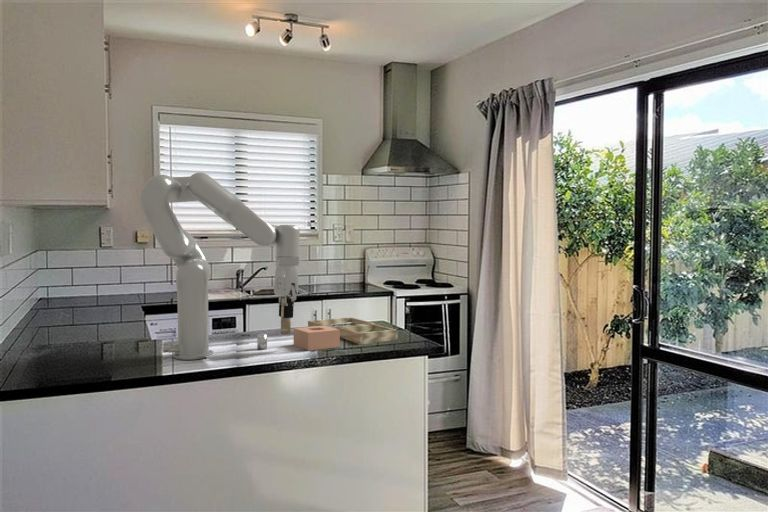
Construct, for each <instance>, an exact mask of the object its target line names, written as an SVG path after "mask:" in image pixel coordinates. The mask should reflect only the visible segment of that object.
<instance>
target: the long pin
mask: <svg viewBox="0 0 768 512" xmlns="http://www.w3.org/2000/svg"><path fill="white" fill-rule="evenodd" d="M288 299H289V298H288ZM280 305H281V317H280V335H284V336H285V335H287V336H288V335H291V326H292V325H291V324H292V323H291V319H292V318H284V306H285V297H284V298H282V302H281V304H280Z"/></svg>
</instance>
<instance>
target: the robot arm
mask: <svg viewBox="0 0 768 512" xmlns="http://www.w3.org/2000/svg"><path fill="white" fill-rule="evenodd" d="M139 196H140V197H139V198H140V199H139V200H140V201H139V203H140V209H141V211H142V214H143V216H144V218H145V220H146V222H147V224H148V225H149V228H150V229H151V231H152V233H153V234H154V237H155V239H156V240H157V242H158V244H159V246H160V248H161V250H162V252H163V253H164V254H165V255H166V256H167V257H168V258H170V259H172V260H173V262H174V263H175V265H176V267H177V271H176V274H175V283H176V285H175V286H176V293H177V294H176V295H177V341H175V344H172V345H170V346H169V345H168V346H167V345H166V346H162V353H163V354H164V353H166V354H167V353H169V354H171V353H173V354H172V358H174V359H176V360H185V361H186V360H189V361H190V360H202V359H207V358H208V357H209V356H212V355H213V354H214V352H215V351H214V350H211V349H209V347H210V346H209V345H210V343H209V342H210V341H209V289H208V283H209V280H210V278H211V274H212V268H211V266H210V264H209V262H208V261H207V258H206V256H205V255H204V253H203V252H202V250H201V248H200V246H199V244H198V242H197V241H196V239H195V238H194V236H193V235H192V234H191V233H190V232H188V231H186V230H185V229H183V227H182V225H181V223H180V221H179V220H178V217H177V216H176V214H175V212H174V211H173V209H172V208H171V203H173V204H174V203H186V202H199V203H201V204H202V205H203V206H205V207H206V208H207V209H209V210H210V211H211V212H213V213H214V214H215V215H217V216H218V217H219V218H221V219H222V220H223V221H225V222H226V223H228V224H230V225H231V226H232V227H234V228H235V229H236V230H237V231H239V232H241V233H242V234H243V235H244V236H245V237H247V238H248V239H250V240H251V241H252V242H254V244H256V245H258V246H261V247H269V246H276V248H275V250H276V252H275V253H276V255H275V271H274V273H275V274H274V281H273V282H274V283H273V293H274V295H275V296H276V297H278V317H280V318H281V302H282V298H284V297H285V306H284V318H291V319H292V318H293V317H294V306H295V301H296V300H297V296H298V293H299V270H298V267H299V266H300V232H301V230H300V227H299V226H298V225H295V224H293V225H292V224H280V225H279V224H278V225H274V224H270V223H269V222H267V221H266V220H264V219H263V218H262V217H261V216H259V215H258V214H257V213H256V212H254V211H253V210H252V209H251V208H249V207H248V206H247V205H245V203H244V202H243V201H242V200H241V199H240V198H239V197H237V196H236V195H235V194H234V193H232V192H231V191H230V190H228V189H227V188H226V187H224V186H223V185H221V184H220V183H219V182H218V181H216V180H215V179H214V178H212V177H211V176H209V174H207V173H205V172H200V171H199V172H195V173H193V174H191V175H189V176H176V177H171V176H170V175H168V174H155V175H153V176H151V177H150V178H149V179H148V180H147V181H146V182H145V184H144V185H143V187H142V189H141V191H140V195H139ZM288 298H289V299H288Z"/></svg>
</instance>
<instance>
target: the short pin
mask: <svg viewBox="0 0 768 512" xmlns="http://www.w3.org/2000/svg"><path fill="white" fill-rule="evenodd" d="M256 336H257V337H256V338H257V339H256V341H257V343H256V344H257V345H256V346H257V348H256V349H257V350H258V351H265V350H268V333H258V334H257V335H256Z"/></svg>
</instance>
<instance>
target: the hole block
mask: <svg viewBox="0 0 768 512" xmlns="http://www.w3.org/2000/svg"><path fill="white" fill-rule="evenodd" d="M328 326H329V325H327V326H324V325H323V326H312V327H308V326H303V327H302V326H301V327H293V346H295V347H296V348H297V347H298V348H301V349H303V350H306V351H309V352H310V351H316V350H326V349H335V348H341V337H340V330H339V329H335V328H331V327H332V326H331V327H328Z"/></svg>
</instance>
